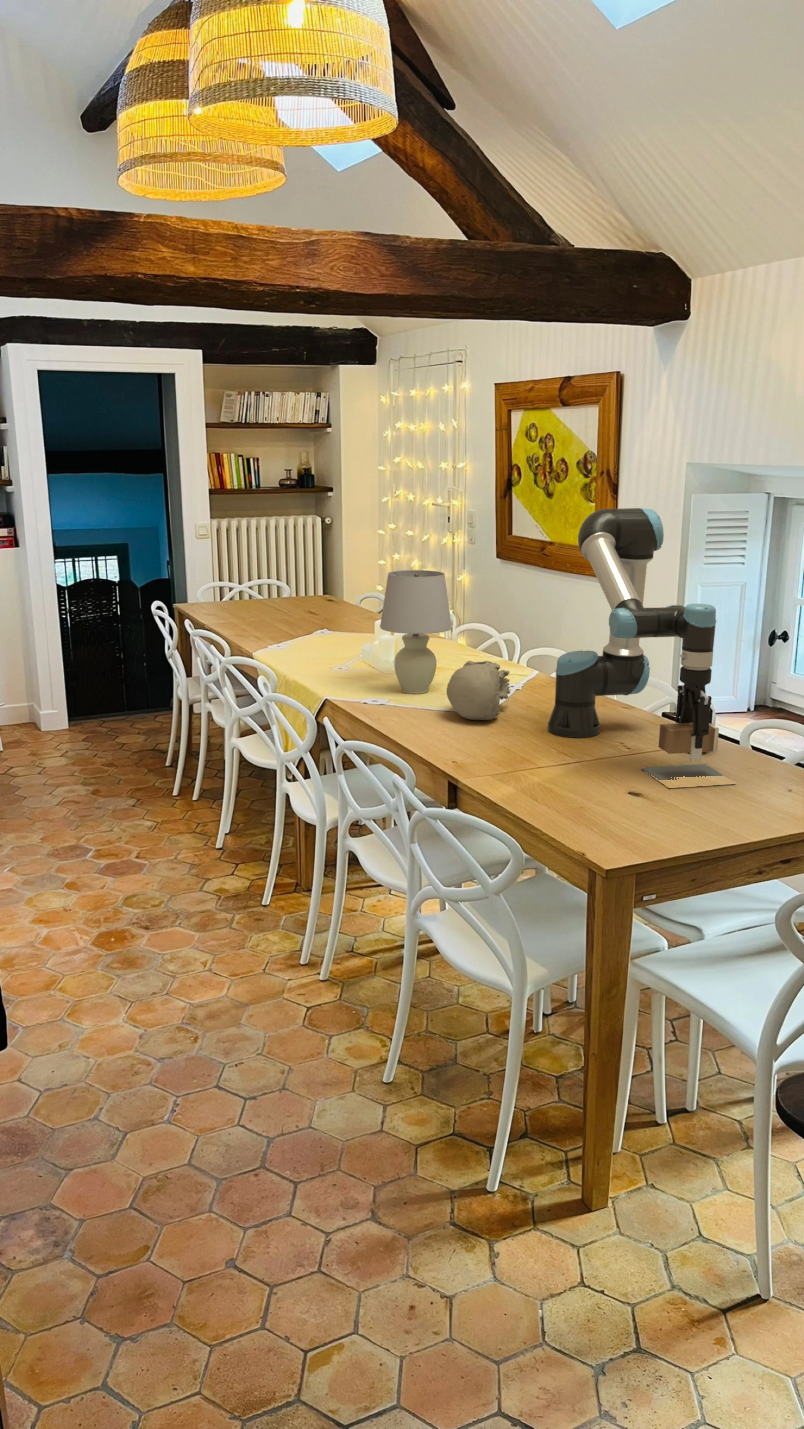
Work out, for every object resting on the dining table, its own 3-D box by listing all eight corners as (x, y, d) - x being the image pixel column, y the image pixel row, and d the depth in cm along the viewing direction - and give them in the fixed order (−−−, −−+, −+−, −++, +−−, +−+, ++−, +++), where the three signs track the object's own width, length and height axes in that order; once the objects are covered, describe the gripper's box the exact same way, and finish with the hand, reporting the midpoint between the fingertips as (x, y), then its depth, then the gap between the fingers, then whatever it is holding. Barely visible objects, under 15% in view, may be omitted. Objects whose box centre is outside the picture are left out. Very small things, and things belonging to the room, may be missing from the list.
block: (660, 724, 269) (707, 721, 272) (658, 747, 271) (705, 744, 273) (670, 730, 263) (718, 728, 266) (668, 753, 265) (716, 751, 268)
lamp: (371, 685, 369) (371, 570, 359) (436, 681, 376) (438, 568, 366) (391, 701, 347) (392, 579, 337) (460, 697, 354) (463, 576, 344)
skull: (511, 640, 330) (447, 639, 332) (511, 684, 310) (444, 684, 312) (510, 694, 342) (449, 693, 344) (510, 741, 322) (445, 740, 324)
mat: (641, 769, 277) (641, 767, 277) (705, 766, 281) (705, 763, 280) (668, 789, 262) (668, 786, 262) (735, 784, 265) (735, 782, 265)
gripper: (665, 659, 272) (659, 746, 278) (700, 675, 254) (693, 768, 260) (692, 658, 274) (685, 745, 280) (729, 674, 256) (721, 766, 261)
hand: (689, 756), depth 270 cm, fingers closed on block, 6 cm apart
